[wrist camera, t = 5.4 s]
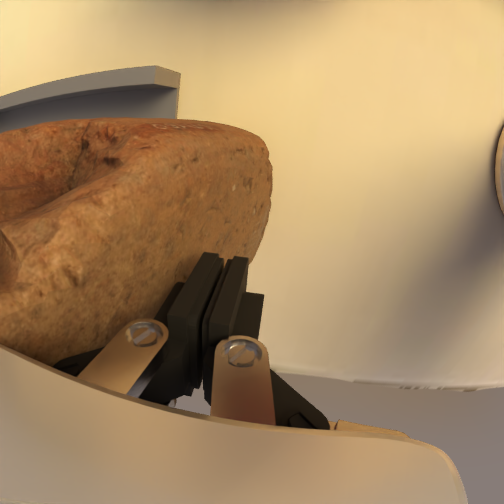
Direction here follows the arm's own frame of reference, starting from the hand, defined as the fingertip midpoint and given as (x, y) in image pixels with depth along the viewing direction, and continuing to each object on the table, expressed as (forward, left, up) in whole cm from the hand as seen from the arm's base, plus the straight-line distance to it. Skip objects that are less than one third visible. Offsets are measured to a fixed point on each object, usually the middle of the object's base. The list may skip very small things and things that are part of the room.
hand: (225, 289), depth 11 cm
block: (+2, 0, -12) cm, 12 cm away
